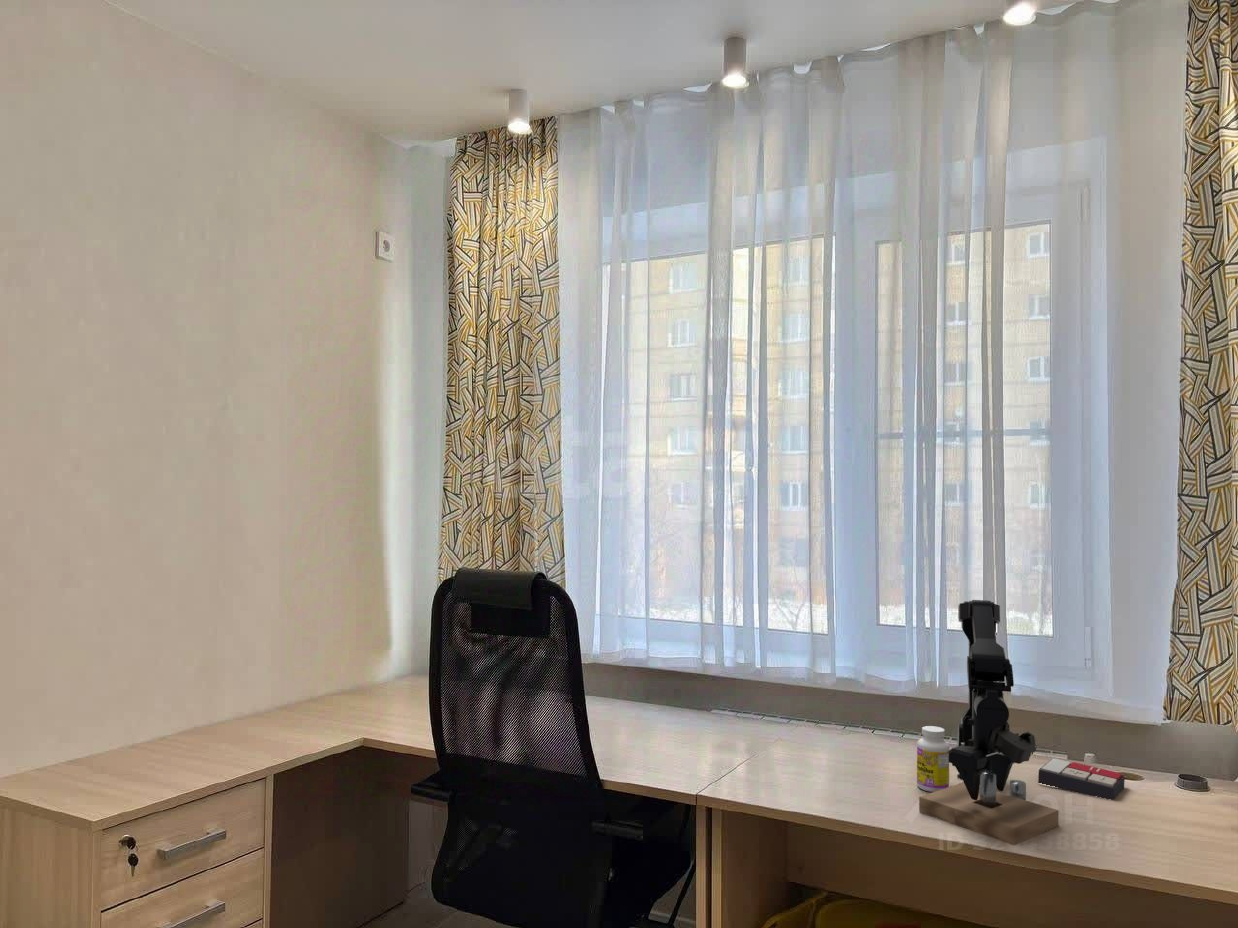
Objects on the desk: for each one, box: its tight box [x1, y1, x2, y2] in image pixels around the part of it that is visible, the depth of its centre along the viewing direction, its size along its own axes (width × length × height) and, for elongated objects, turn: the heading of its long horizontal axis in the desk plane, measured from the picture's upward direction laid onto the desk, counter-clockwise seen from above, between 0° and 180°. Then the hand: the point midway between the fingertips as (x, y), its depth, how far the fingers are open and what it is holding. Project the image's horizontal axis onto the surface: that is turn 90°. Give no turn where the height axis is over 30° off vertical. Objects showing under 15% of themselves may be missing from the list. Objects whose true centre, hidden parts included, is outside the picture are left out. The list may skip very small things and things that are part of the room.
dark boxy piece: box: [1037, 758, 1126, 801], centre depth 196 cm, size 11×4×15 cm
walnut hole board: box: [918, 782, 1060, 845], centre depth 175 cm, size 20×16×3 cm
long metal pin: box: [979, 770, 997, 809], centre depth 175 cm, size 3×3×9 cm
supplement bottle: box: [916, 725, 950, 793], centre depth 193 cm, size 7×7×13 cm
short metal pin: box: [1009, 779, 1027, 801], centre depth 184 cm, size 3×3×4 cm
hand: (987, 794), depth 175 cm, fingers open, 9 cm apart
